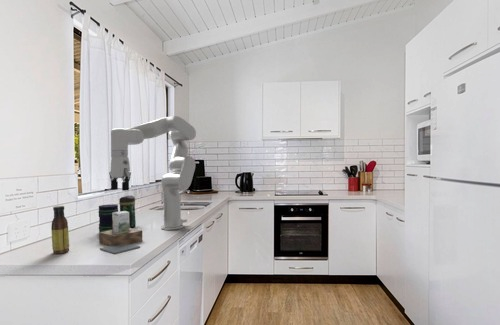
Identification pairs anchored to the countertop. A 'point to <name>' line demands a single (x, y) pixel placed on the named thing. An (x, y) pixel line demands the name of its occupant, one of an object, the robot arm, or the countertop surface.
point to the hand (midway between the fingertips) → (119, 190)
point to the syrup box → (120, 222)
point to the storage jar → (106, 216)
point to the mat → (119, 248)
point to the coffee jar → (128, 208)
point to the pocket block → (120, 237)
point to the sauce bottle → (59, 231)
